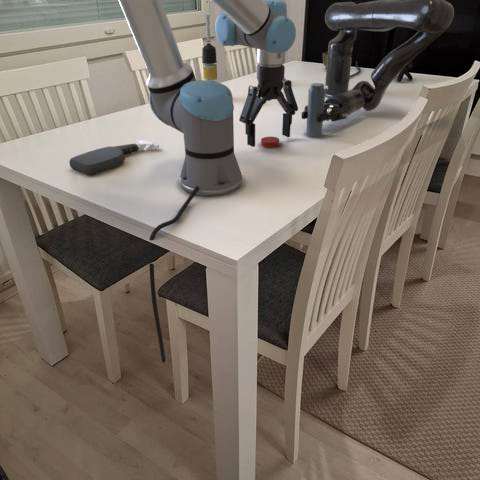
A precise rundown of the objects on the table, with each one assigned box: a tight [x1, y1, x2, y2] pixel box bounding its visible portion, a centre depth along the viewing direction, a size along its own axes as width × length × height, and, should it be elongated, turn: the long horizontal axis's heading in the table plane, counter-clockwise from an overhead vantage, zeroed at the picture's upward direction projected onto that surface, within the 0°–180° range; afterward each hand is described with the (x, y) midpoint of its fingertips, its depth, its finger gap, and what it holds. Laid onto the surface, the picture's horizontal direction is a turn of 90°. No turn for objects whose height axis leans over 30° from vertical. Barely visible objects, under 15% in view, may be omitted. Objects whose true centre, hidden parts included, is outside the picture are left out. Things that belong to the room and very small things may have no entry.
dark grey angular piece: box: [394, 59, 414, 83], centre depth 198 cm, size 11×10×15 cm
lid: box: [260, 136, 280, 149], centre depth 132 cm, size 5×5×2 cm
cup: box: [322, 51, 328, 71], centre depth 219 cm, size 8×7×8 cm
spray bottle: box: [68, 139, 160, 177], centre depth 124 cm, size 3×11×24 cm
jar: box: [305, 82, 326, 138], centre depth 136 cm, size 5×5×15 cm
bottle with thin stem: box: [201, 14, 218, 82], centre depth 171 cm, size 6×6×30 cm
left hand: (269, 140), depth 132 cm, fingers open, 13 cm apart
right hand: (310, 117), depth 135 cm, fingers closed on jar, 5 cm apart
